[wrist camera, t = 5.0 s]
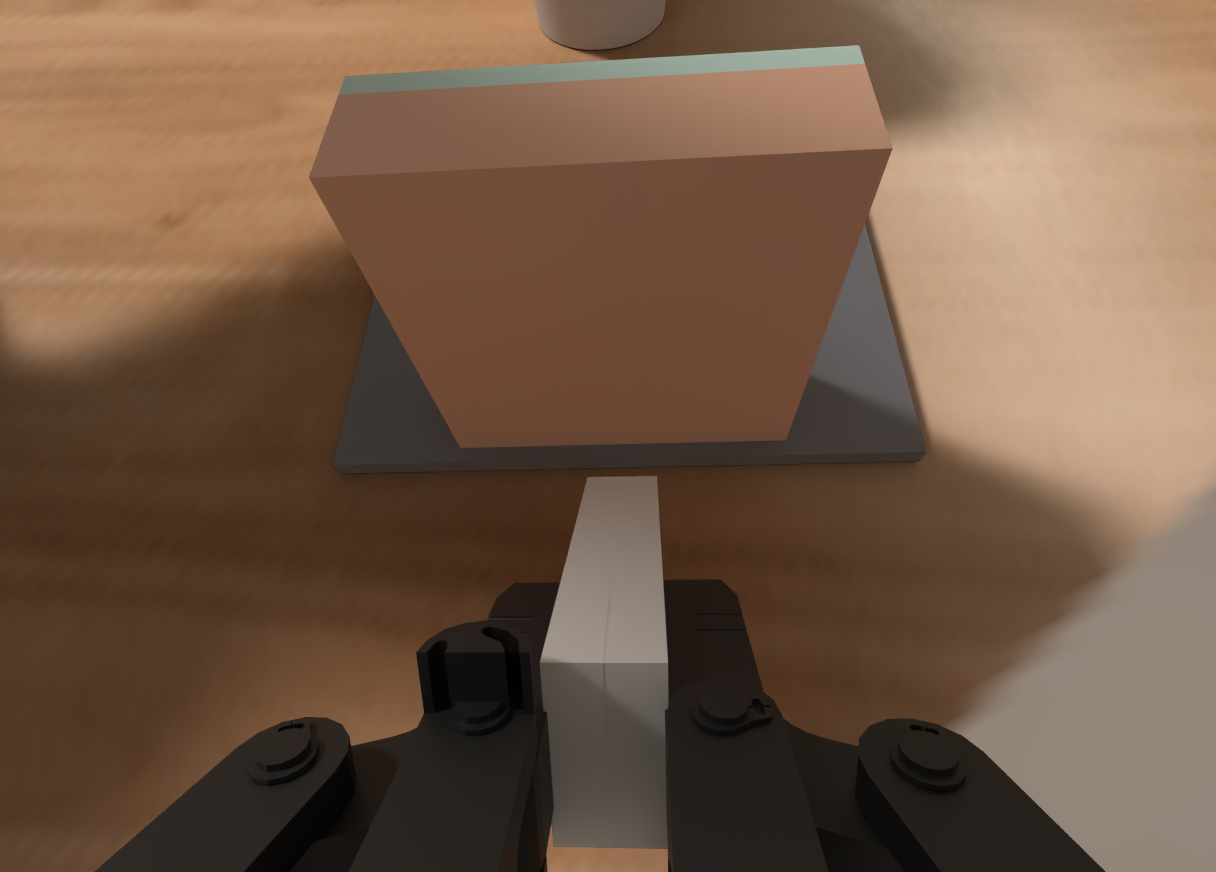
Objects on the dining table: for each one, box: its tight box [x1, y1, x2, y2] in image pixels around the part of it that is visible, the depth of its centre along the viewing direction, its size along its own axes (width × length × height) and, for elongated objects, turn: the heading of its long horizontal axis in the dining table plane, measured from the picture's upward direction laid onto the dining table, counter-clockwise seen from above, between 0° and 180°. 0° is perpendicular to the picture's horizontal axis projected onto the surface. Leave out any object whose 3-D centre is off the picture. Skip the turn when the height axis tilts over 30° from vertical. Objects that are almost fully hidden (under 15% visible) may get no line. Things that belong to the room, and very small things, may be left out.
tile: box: [309, 45, 892, 448], centre depth 16 cm, size 10×3×10 cm, turn 90°
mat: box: [332, 225, 926, 474], centre depth 23 cm, size 18×14×1 cm
